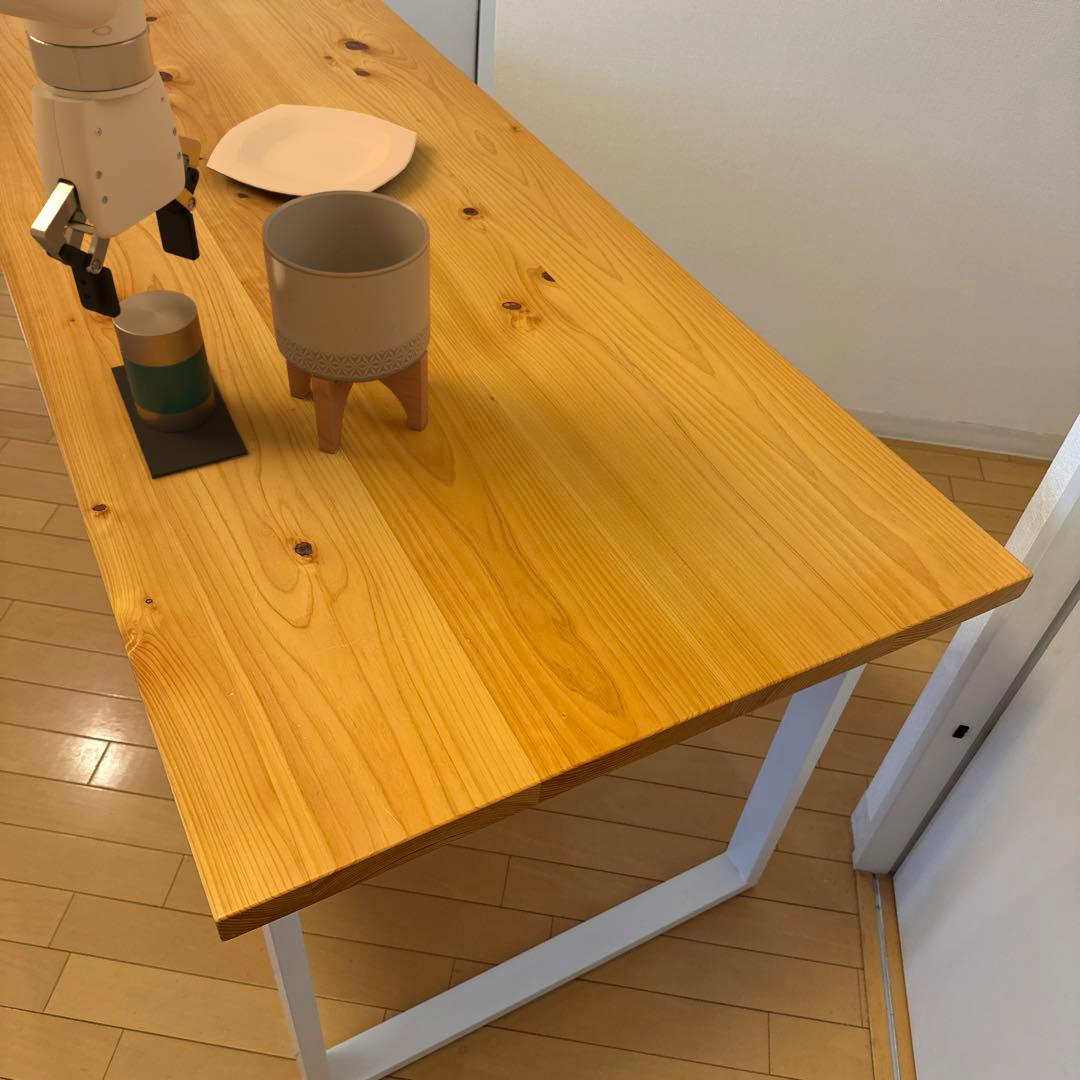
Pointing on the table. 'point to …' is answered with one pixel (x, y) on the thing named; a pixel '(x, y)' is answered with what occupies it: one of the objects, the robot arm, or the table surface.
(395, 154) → the plate
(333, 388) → the planter
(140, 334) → the can
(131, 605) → the table surface
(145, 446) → the black flat rectangular slab
